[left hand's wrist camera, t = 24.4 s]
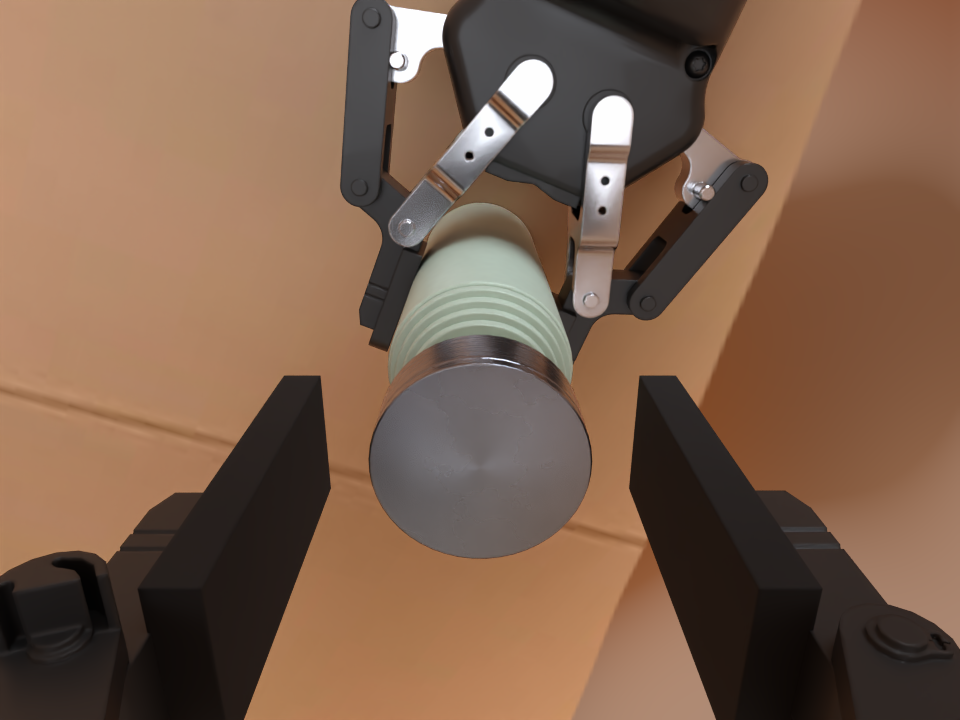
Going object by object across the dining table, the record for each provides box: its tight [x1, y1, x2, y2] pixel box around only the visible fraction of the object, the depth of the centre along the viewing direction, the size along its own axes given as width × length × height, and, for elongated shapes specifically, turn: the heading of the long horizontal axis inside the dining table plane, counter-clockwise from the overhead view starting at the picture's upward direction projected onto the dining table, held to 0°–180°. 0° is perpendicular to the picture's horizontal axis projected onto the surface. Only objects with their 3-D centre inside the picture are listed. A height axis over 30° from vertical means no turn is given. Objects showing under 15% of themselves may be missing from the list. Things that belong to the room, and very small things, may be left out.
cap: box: [369, 335, 592, 559], centre depth 14 cm, size 4×4×2 cm
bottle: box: [388, 203, 573, 385], centre depth 22 cm, size 5×5×17 cm
